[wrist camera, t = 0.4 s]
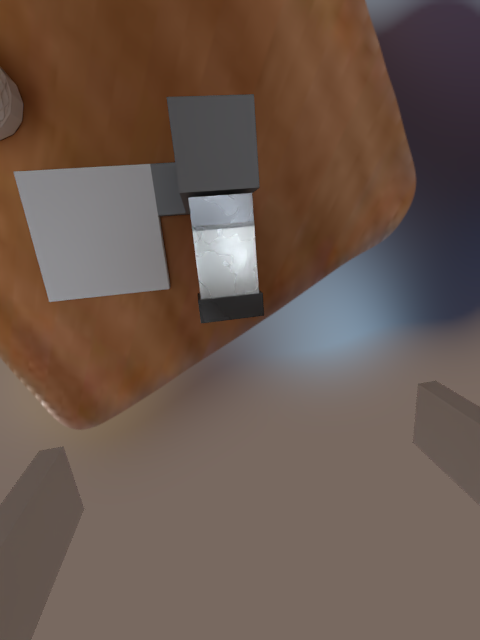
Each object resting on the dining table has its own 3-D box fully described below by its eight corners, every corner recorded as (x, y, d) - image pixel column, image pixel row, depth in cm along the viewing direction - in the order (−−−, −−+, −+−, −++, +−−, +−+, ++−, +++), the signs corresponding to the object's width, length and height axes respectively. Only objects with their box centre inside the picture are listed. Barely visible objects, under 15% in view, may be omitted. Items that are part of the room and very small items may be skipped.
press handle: (187, 206, 23) (184, 197, 18) (242, 202, 23) (256, 192, 18) (199, 306, 25) (201, 323, 20) (250, 300, 25) (264, 315, 20)
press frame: (22, 174, 30) (-161, 106, 14) (225, 163, 32) (253, 94, 17) (55, 299, 33) (-63, 349, 18) (236, 279, 36) (266, 309, 21)
